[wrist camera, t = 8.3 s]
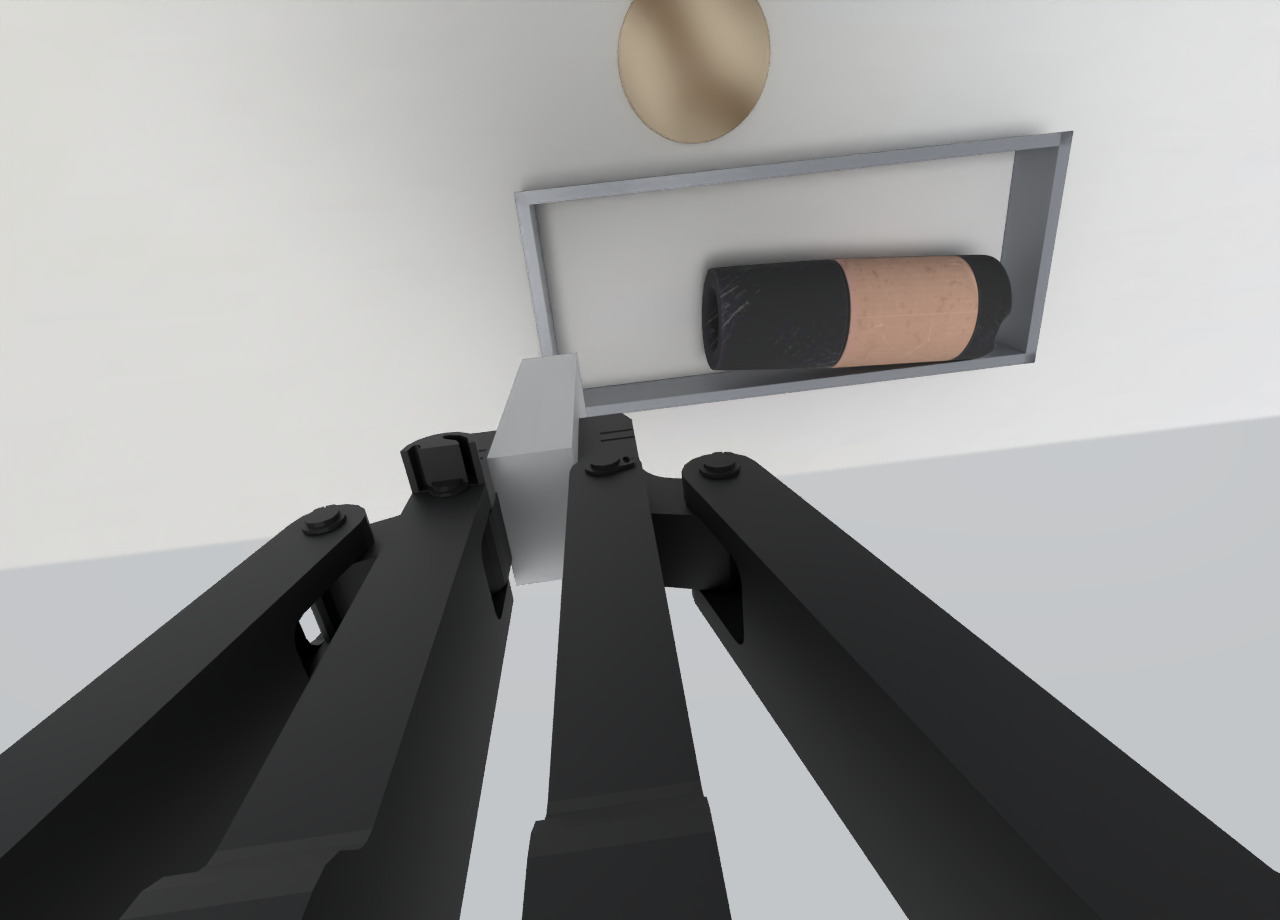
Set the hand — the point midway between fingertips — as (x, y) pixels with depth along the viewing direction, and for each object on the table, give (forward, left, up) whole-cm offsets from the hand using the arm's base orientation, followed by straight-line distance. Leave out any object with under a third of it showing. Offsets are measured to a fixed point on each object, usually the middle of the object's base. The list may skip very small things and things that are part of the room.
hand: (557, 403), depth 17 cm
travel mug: (-3, +10, -27) cm, 29 cm away
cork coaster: (-16, 0, -31) cm, 35 cm away
